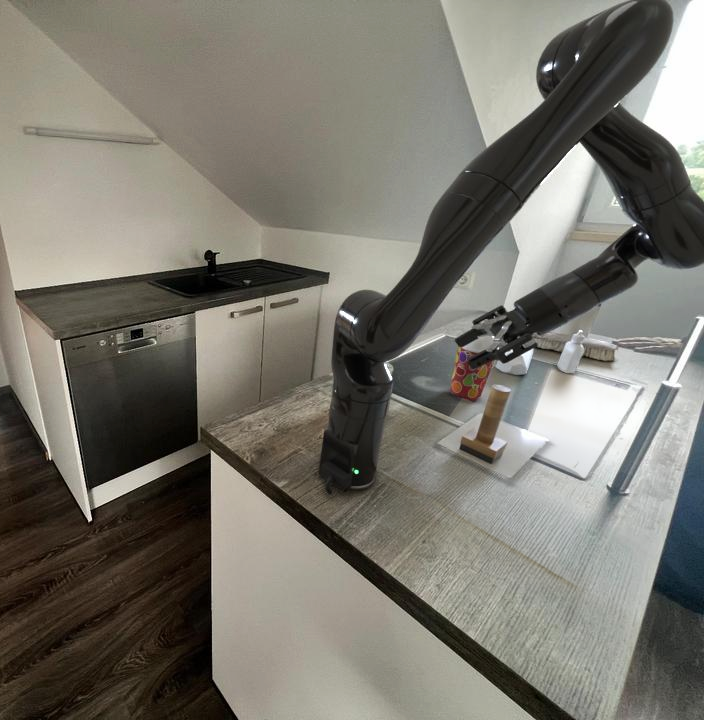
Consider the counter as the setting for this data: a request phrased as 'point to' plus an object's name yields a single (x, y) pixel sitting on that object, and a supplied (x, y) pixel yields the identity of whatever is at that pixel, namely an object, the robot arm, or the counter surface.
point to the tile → (514, 454)
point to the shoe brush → (590, 346)
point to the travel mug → (581, 323)
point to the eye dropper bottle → (571, 354)
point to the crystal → (516, 364)
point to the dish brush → (488, 428)
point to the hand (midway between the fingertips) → (462, 353)
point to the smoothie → (471, 370)
